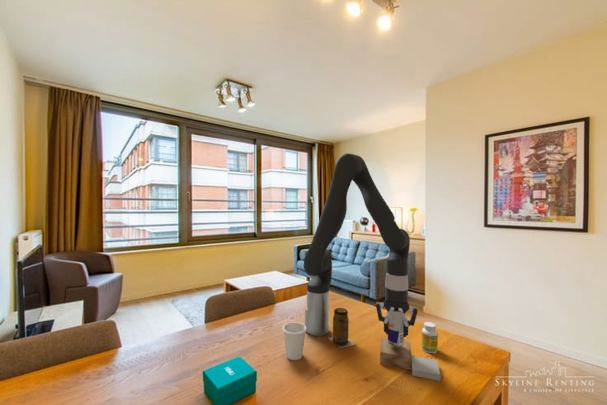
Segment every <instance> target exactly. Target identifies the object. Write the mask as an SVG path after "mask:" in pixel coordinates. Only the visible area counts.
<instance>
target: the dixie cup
mask: <svg viewBox="0 0 607 405" xmlns="http://www.w3.org/2000/svg"><path fill="white" fill-rule="evenodd" d="M306 329H307V328H306V326H305V323H302V322H298V321H297V322H296V321H293V322H288V323H285V324H284V325H283V326H282V330H283V335H284V336H283V337H284V344H285V354H286V355H285V356H286V358H287V359H289V360H291V361H297V360H298V361H299V360H300V359H302V357H303V352H304V346H305V340H306V333H307V332H306Z"/></svg>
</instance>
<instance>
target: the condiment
mask: <svg viewBox="0 0 607 405" xmlns="http://www.w3.org/2000/svg"><path fill="white" fill-rule="evenodd" d="M348 313H349V312H348V310H347V309H346V308H344V307H343V308H342V307H337V308H334V311H333V316H332V336H330V337H327V339H328V340H329V341H330V342H331V343H332V344H334V345H335V346H336V347H338V348H339V349H343V348H348V347H350V346H351V347H352V346H354V345H356V343H355V342H353V341H352V340H351V339H349V317H348V315H349V314H348Z"/></svg>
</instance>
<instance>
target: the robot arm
mask: <svg viewBox="0 0 607 405" xmlns="http://www.w3.org/2000/svg"><path fill="white" fill-rule="evenodd" d="M332 174H333V175H332V179H331V183H330V186H329V191H328V193H327V196H326V199H325V203H324V206H323V208H322V211H321V215H320V217H319V220H318V223H317V227H316V230H315V232H314V234H313V238H312V241H311V244H310V245H309V247H308V249H307V252H306V254H305V256H304V259H303V269H304V272H305V273H306V275H308V276H311V279H310V280H309V281H307V284H306V308H305V309H304V311H305V312H304V325H305V326H306V328H307V329H306V332H305V333H306V334H308V335H311V336H314V337H323V336H326V335H327V334H328V333H329V332H330V331H329V322H330V320H329V317H330V286H331V284H332V273H333V262H332V260H333V259H332V258H331V255H330V254H329V252H327V250H328V247H329V245H330V244H331V243H332V241H333V240H334V239H335V238H336V237H337V235H338V234H339V233H340V231H341V229H342V227H343V223H344V222H345V218H346V215H347V210H348V208H347V207H348V206H347V205H348V203H347V201H348V200H347V197H348V191H349V189H350V186H351V184H352V181H353V182H354V184H355V185H356V186H357V188H358V190H360V191H359V192H360V193H361V196H362V199H363V202H364V205H365V208H366V211H368V213H369V215H370V217H371V218H372V220H373V222H374V223H375V224H376V226H377V229H378V231H379V234H380V236H381V239H382V240H383V242H384V244H385V245H386V247H387V248H389V253H388V257H387V259H386V265H385V268H386V272H385V282H384V285H385V286H384V287H385V289H384V294H385V295H384V298H385V299H384V301H383V302H379V301H377V302H376V304H375V308H376V312H377V318H378V321H379V322H382V323H383V332H384V333H385V334H386V335H388V320H389V318H390V311H391V310H392V311H399V312H402V314H403V322H404V338H406V337H407V336H409V327H410V326H411V327H413V326H415V323H416V319H417V315H418V308H417V306H412V305H409V277H408V272H409V271H408V270H409V268H408V266H409V265H408V264H409V262H408V259H409V254H410V253H409V252H410V245H411V239H410V235H409V233H408V232H407V231H406V230H405V229H403V228H399V226H398V224H397V222H396V220H395V219H396V218H395V215H394V212H393V211H392V210H391V208H390V206H389V205H388V204H387V202H386V201H385V199H384V197H383V196H382V194H381V192H380V190H378V187H377V185H376V184H375V182H374V180H373V177H372V175H371V174H370V170H369V168H368V166H367V164H366V162H365V160H364V158H362V156H360V155H358V154H354V153H353V154H352V153H347V152H346V153H344V154H341V155H340V156H339V157H338V158H337V161H336V163H335V166H334V170H333V173H332ZM383 307H384V308H385V310H386V311H387V312H385V313H386V314H385V316H383V314H382V310H383ZM408 311H410V319H408V318H407V316H406V313H407V312H408Z"/></svg>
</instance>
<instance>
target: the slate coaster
mask: <svg viewBox="0 0 607 405" xmlns="http://www.w3.org/2000/svg"><path fill="white" fill-rule="evenodd" d="M411 376H413V377H419V378H423V379H428V380H434V381H437V382H441V372H440V368H439V365H438V360H437V359H432V358H428V357H427V358H426V357H421V356H416V355H415V356H414V355H412V370H411Z"/></svg>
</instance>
